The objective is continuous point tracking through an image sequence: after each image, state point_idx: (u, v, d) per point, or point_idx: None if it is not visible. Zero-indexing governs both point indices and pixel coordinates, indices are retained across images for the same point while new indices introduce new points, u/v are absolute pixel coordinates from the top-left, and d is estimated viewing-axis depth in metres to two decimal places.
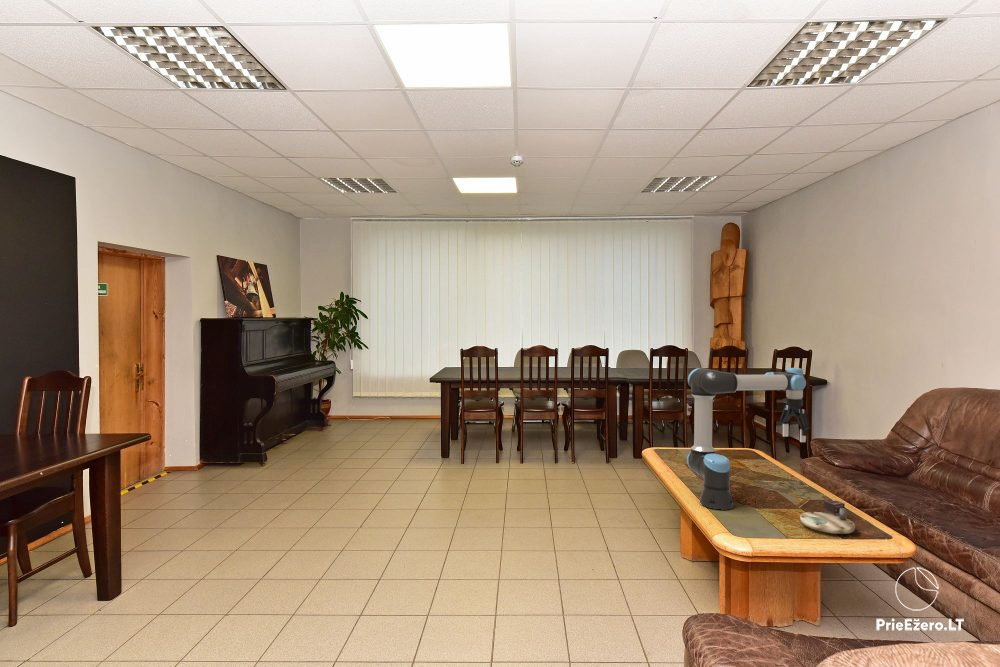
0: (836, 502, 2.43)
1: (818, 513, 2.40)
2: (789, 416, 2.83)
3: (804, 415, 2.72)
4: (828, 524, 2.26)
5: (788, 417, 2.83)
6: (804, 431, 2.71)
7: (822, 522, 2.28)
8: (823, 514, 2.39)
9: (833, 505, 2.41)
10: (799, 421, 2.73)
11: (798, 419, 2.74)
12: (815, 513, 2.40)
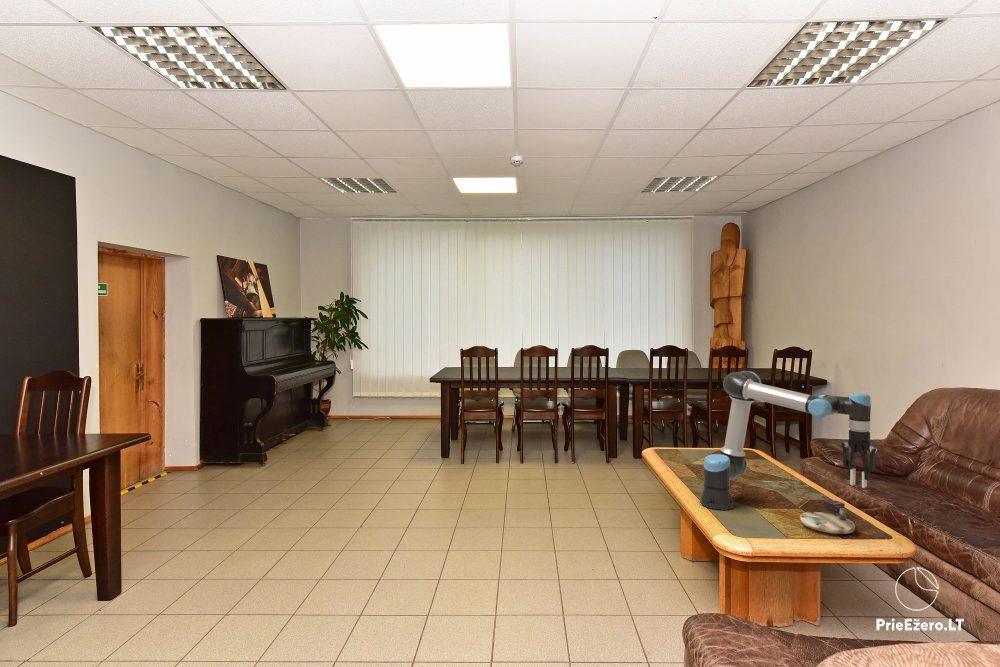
0: (836, 502, 2.43)
1: (818, 513, 2.40)
2: (855, 455, 2.28)
3: (874, 455, 2.22)
4: (828, 524, 2.26)
5: (854, 457, 2.28)
6: (868, 474, 2.24)
7: (822, 522, 2.28)
8: (823, 514, 2.39)
9: (833, 505, 2.41)
10: (865, 462, 2.24)
11: (864, 459, 2.24)
12: (815, 513, 2.40)
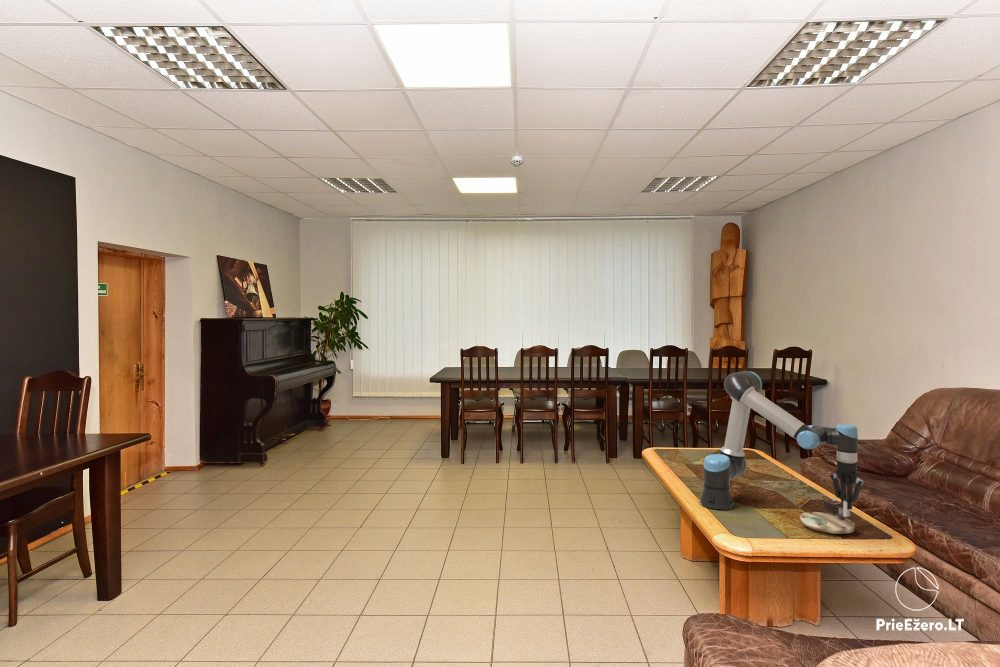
0: (836, 502, 2.43)
1: (816, 513, 2.40)
2: (844, 486, 2.32)
3: (860, 487, 2.27)
4: (830, 524, 2.26)
5: (844, 487, 2.32)
6: (850, 504, 2.30)
7: (823, 522, 2.28)
8: (821, 514, 2.39)
9: (833, 505, 2.41)
10: (849, 492, 2.29)
11: (849, 489, 2.29)
12: (814, 513, 2.40)
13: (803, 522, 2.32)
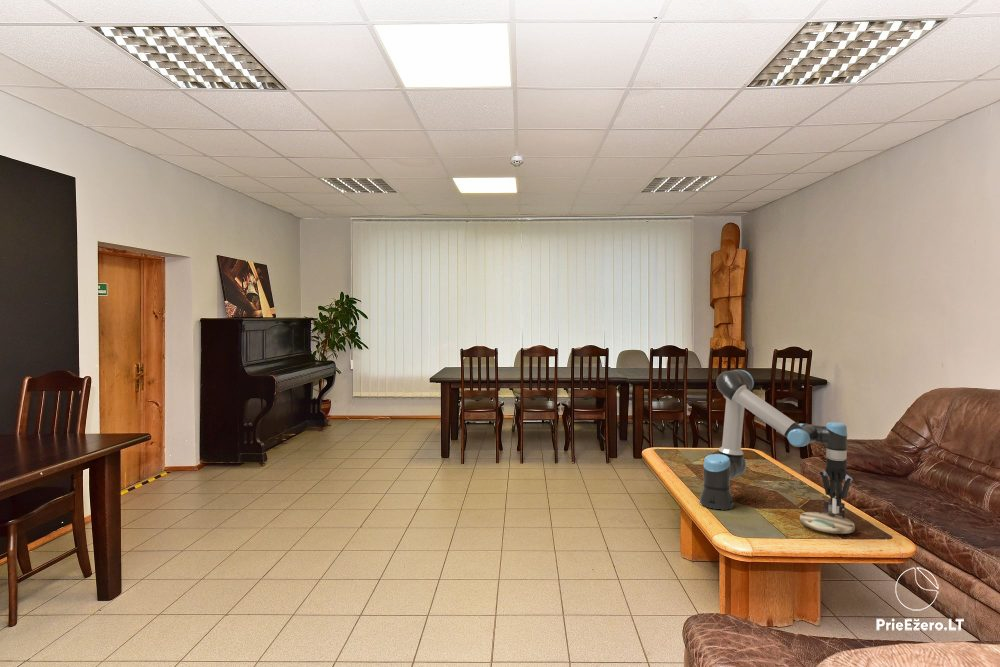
0: None
1: (807, 514, 2.39)
2: (834, 483, 2.35)
3: (848, 484, 2.31)
4: (838, 525, 2.26)
5: (834, 485, 2.35)
6: (839, 501, 2.33)
7: (831, 523, 2.27)
8: (811, 513, 2.39)
9: None
10: (838, 489, 2.33)
11: (838, 487, 2.33)
12: (805, 514, 2.39)
13: (815, 527, 2.26)
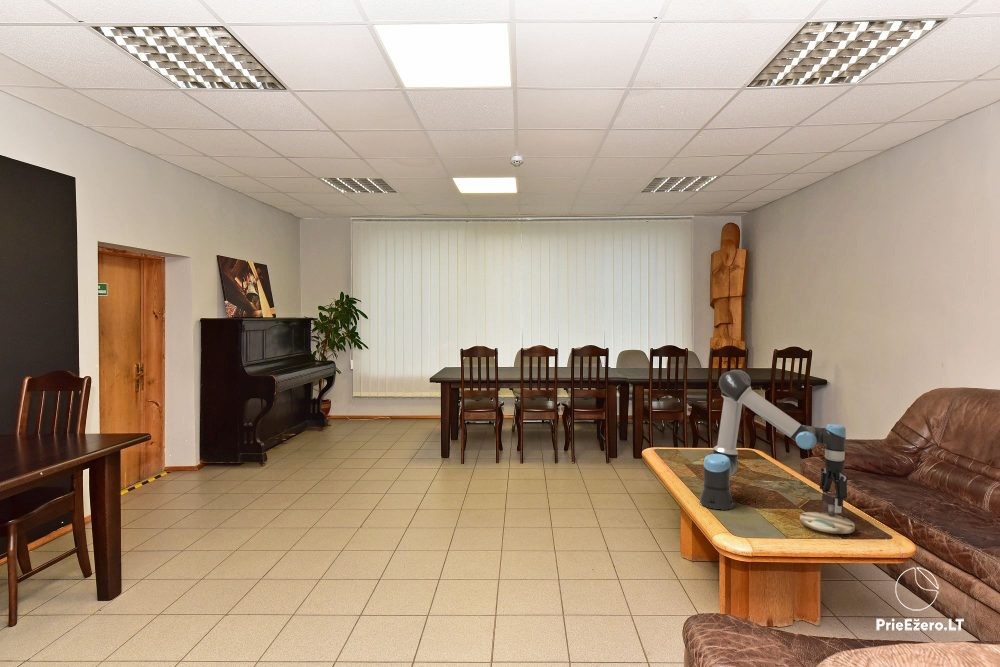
0: (835, 495, 2.44)
1: (807, 514, 2.39)
2: (829, 481, 2.46)
3: (844, 483, 2.38)
4: (838, 525, 2.26)
5: (828, 482, 2.46)
6: (840, 501, 2.39)
7: (831, 523, 2.27)
8: (811, 513, 2.39)
9: (832, 497, 2.41)
10: (836, 489, 2.40)
11: (836, 486, 2.41)
12: (805, 514, 2.39)
13: (815, 527, 2.26)
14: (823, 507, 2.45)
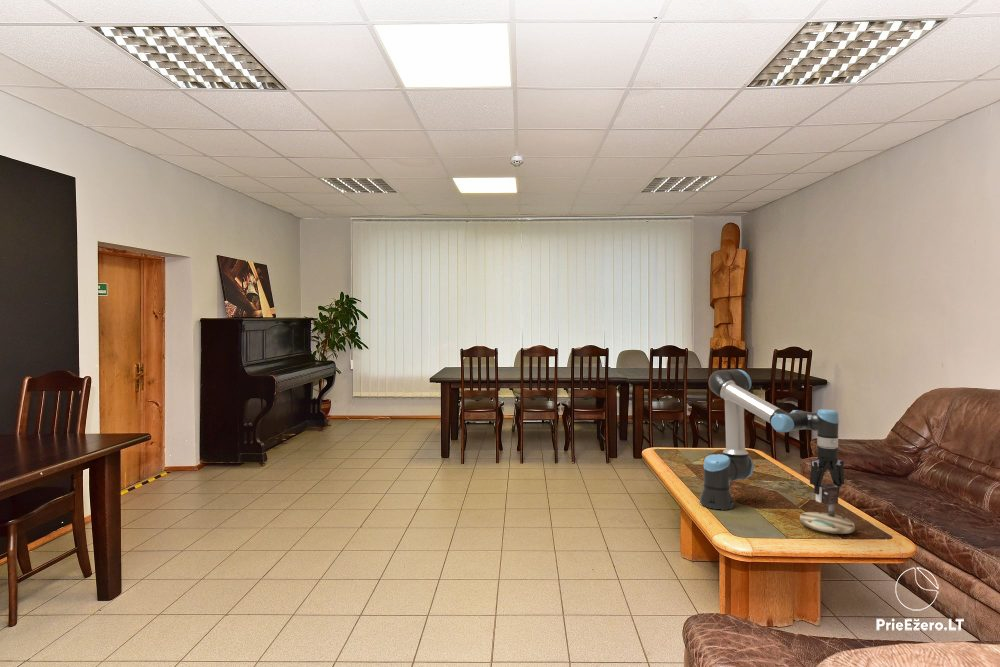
0: (826, 485, 2.27)
1: (807, 514, 2.39)
2: (831, 472, 2.28)
3: (813, 469, 2.26)
4: (838, 525, 2.26)
5: (831, 473, 2.28)
6: (815, 488, 2.27)
7: (831, 523, 2.27)
8: (811, 513, 2.39)
9: None
10: None
11: (817, 473, 2.28)
12: (805, 514, 2.39)
13: (815, 527, 2.26)
14: None
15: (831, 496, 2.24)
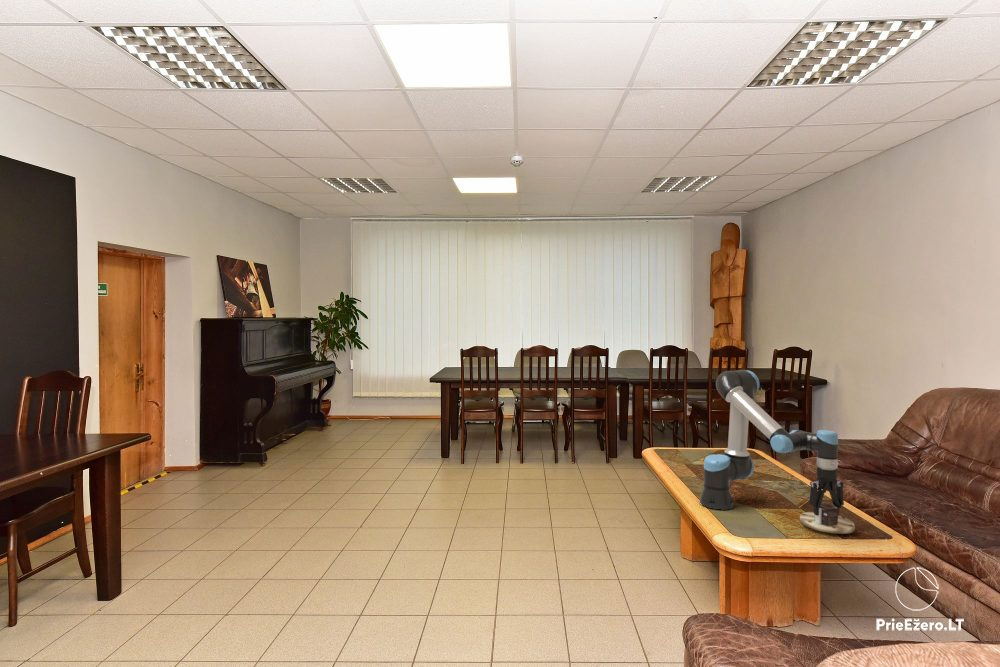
0: (826, 506, 2.27)
1: (807, 514, 2.39)
2: (831, 493, 2.28)
3: (813, 490, 2.26)
4: (838, 525, 2.26)
5: (831, 494, 2.28)
6: (814, 509, 2.27)
7: None
8: (811, 513, 2.39)
9: None
10: None
11: (817, 493, 2.28)
12: (805, 514, 2.39)
13: (815, 527, 2.26)
14: None
15: (831, 517, 2.24)
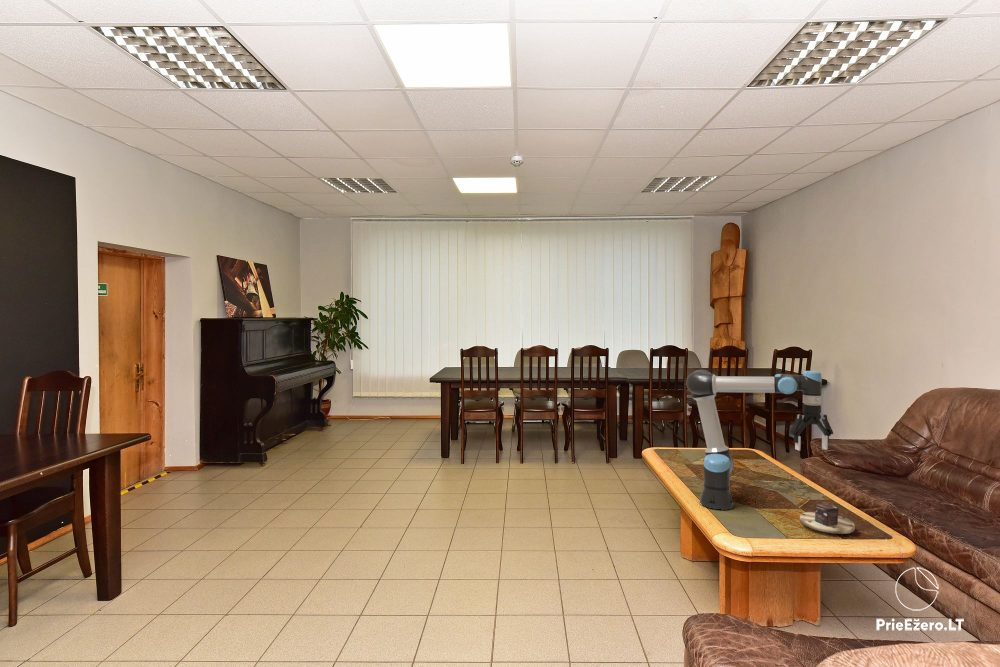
0: (826, 506, 2.27)
1: (807, 514, 2.39)
2: (818, 425, 2.53)
3: (797, 421, 2.52)
4: (838, 525, 2.26)
5: (819, 426, 2.54)
6: (794, 437, 2.52)
7: None
8: (811, 513, 2.39)
9: None
10: None
11: None
12: (805, 514, 2.39)
13: (815, 527, 2.26)
14: None
15: (831, 517, 2.24)
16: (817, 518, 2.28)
